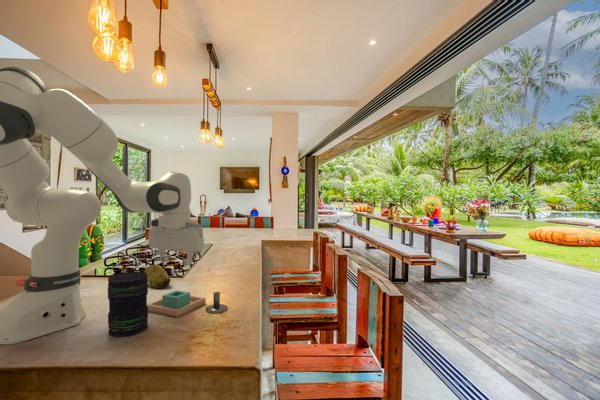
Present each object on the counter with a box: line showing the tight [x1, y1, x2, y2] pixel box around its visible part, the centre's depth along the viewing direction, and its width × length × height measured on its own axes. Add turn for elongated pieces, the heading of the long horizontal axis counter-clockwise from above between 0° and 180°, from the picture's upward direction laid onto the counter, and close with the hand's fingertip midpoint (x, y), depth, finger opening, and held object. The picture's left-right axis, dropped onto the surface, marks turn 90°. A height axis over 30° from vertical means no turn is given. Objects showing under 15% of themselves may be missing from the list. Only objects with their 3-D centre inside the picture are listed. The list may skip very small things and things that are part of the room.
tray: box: [147, 294, 207, 319], centre depth 105 cm, size 13×13×2 cm
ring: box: [161, 290, 191, 309], centre depth 105 cm, size 6×6×4 cm
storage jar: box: [107, 271, 149, 338], centre depth 88 cm, size 10×10×15 cm
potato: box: [143, 264, 171, 289], centre depth 128 cm, size 8×13×8 cm, turn 36°
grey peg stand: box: [205, 291, 229, 314], centre depth 103 cm, size 7×7×6 cm
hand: (175, 263), depth 105 cm, fingers open, 8 cm apart
